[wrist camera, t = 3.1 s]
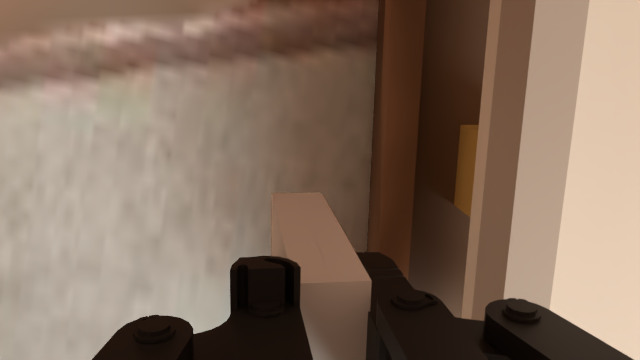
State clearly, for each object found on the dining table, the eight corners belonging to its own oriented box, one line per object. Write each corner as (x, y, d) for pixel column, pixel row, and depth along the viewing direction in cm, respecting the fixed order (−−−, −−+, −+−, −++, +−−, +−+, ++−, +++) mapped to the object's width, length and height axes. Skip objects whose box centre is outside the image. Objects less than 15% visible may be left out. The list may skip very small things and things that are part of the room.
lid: (445, 494, 22) (475, 558, 19) (501, -132, 17) (554, -165, 14) (682, 471, 23) (742, 528, 21) (801, -110, 18) (899, -136, 16)
